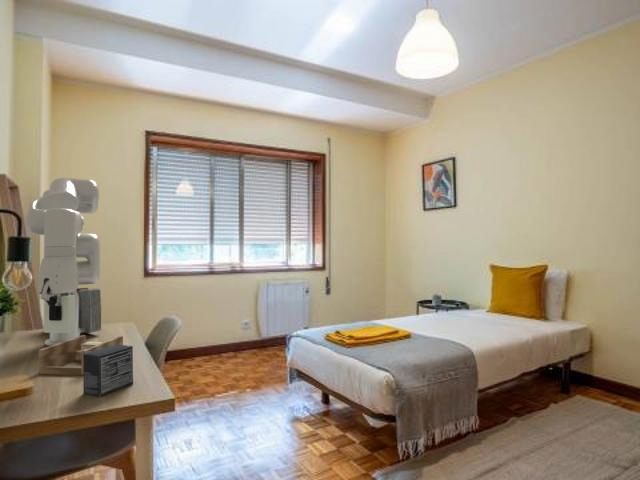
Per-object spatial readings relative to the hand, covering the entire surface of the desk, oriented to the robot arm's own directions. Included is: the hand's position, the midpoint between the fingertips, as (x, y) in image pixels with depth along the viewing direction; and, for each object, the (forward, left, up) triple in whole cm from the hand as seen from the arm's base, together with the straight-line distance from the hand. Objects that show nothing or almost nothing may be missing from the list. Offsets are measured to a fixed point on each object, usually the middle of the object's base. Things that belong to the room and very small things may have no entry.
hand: (59, 318), depth 112 cm
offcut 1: (-22, -7, -18) cm, 29 cm away
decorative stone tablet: (-61, -38, -18) cm, 74 cm away
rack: (-16, -3, -17) cm, 24 cm away
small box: (+4, +17, -18) cm, 25 cm away
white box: (0, 0, -4) cm, 4 cm away
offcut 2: (-22, -4, -15) cm, 26 cm away
